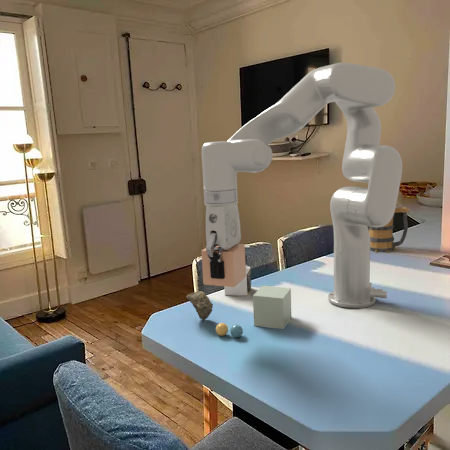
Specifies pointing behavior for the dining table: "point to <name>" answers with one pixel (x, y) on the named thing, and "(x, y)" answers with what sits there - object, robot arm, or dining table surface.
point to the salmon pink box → (226, 267)
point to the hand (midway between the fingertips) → (224, 272)
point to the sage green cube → (272, 307)
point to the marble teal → (236, 331)
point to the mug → (387, 234)
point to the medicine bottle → (241, 284)
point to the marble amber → (221, 329)
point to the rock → (201, 304)
